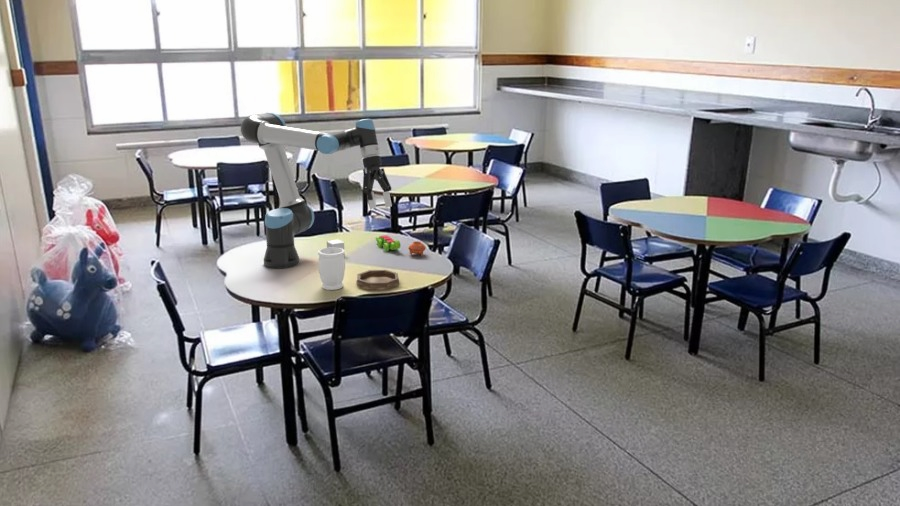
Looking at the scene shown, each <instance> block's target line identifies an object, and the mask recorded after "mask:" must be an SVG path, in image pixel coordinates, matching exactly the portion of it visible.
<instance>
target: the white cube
mask: <svg viewBox="0 0 900 506" xmlns="http://www.w3.org/2000/svg"><path fill="white" fill-rule="evenodd" d="M329 247H337V248H342V249H344V250H345V242H344V241H343V240H341V239H332V240H326V248H329ZM345 253H346V252H345ZM345 253H344V254H343V255H344V256H345Z"/></svg>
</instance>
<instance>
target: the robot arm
mask: <svg viewBox="0 0 900 506" xmlns="http://www.w3.org/2000/svg"><path fill="white" fill-rule="evenodd" d="M240 133H241V136H242V137H243V138H244V139H245V140H246V141H247V142H249V143H253V144H258V146H259V148H260V149H261V150H263V151H264V155H265V157H266V160H267V163H268V167H269V169H270V172H271V176H272V179H273V182H274V185H275V188H276V190H277V193H278V197H279V201H280V204H279V206H278V208H274V209H271V210H269V211H267V212H266V214H265V215H264V225H265V226H264V227H265V235H266V236H265V239H266V241H265V242H266V249H265V253H264V258H263V266H265V267H267V268H270V269H288V268H293V267H295V266H297V265H299V264H300V256H299V253H298V251H297V248H296V246H295V235H298V234H301V233H304V232H306V231H308V229H310V228H311V227H312V225H313V224H314V222H315V213H314V210H313V209H312V207H310V206H309V205H308V204H306V200H305V199H303V198H302V197H300V193H299V189H298V187H297V184H296V180H295V178H294V175H293V172H292V168H291V164H290V162H289V159H288V156H287V153H286V150H285V147H284V146H288V147H292V148H293V147H294V148H301V149H307V150H314V151H319V152H320V153H322V154H323V155H331V154H334V153H337V152H339V151H344V150H345V151H346V150H347V149H351V148H354V147H358V146H359V148H360V154H361V158H362V164H363V169H362V172H363V176H362V177H363V178H362V180H363V183H362V191H363V193H364V194H366V196H367V202H368V205H369V207H368V208H369V209H371V210H372V209H376V208H377V204H376V198H375V193H374V191H373V188H374V183H375V181H377V182H378V184H379V186H380V188H381V190H382V191H383V192H382V196H383V200H384V205H385V208H389V207H392V206H393V204H392V200H391V195H390V191H392V186H391V184H390V182H389V179H388V176H387V175H386V172H385V168H384V167H382V168H380V166H382V164H383V163H382V158H381V156H380V154H381V153H380V147H379V143H378V139H377V133H376V127H375V124H374V121H373V119H371V118H363V119H360V120H359V119H358V120H357V121H356V122H355V127H353V128H349V129H345V130H341V131H337V132H332V133H328V132H322V131H321V132H320V131H315V130H308V129H302V128H296V127H290V126H287V124H286V122H285V120H284V119H283V117H282V116H281V115H279V114H277V113H275V112H265V113H260V114H252V115H249V116H247V117H245V118H244V119H243V120H242V122H241V124H240Z"/></svg>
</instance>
